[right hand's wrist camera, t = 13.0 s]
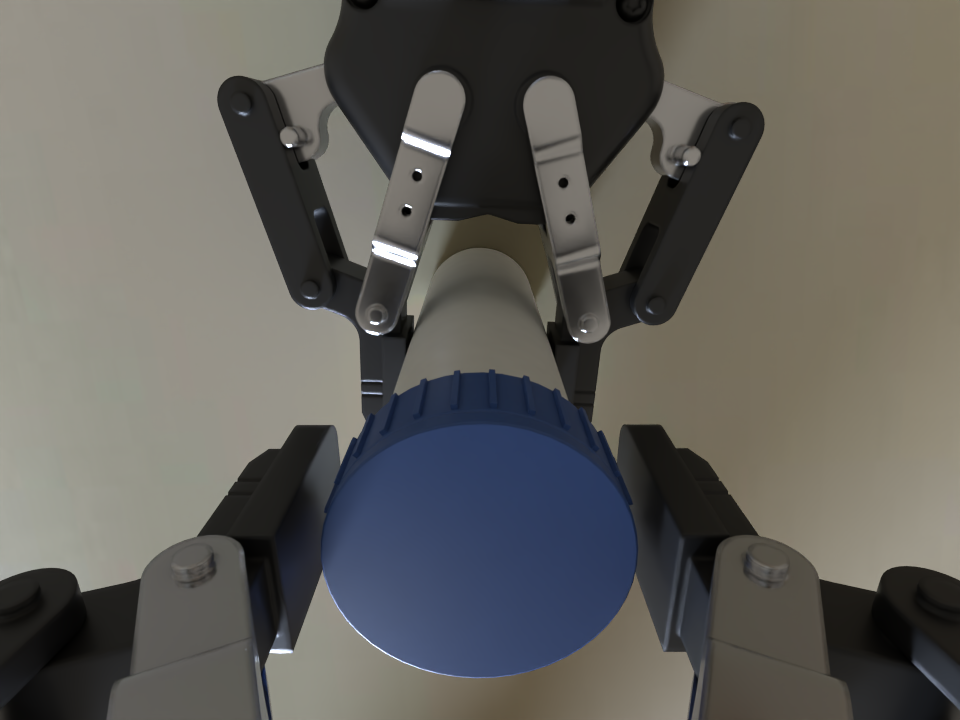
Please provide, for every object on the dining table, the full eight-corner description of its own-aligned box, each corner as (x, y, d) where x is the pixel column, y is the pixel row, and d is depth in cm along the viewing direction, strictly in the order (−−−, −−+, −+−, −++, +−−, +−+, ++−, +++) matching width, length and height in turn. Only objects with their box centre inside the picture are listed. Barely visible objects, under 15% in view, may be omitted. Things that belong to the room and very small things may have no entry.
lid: (349, 597, 12) (326, 678, 10) (332, 362, 10) (300, 412, 8) (601, 602, 12) (622, 685, 10) (632, 369, 10) (664, 420, 8)
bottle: (428, 346, 25) (357, 639, 10) (427, 245, 23) (342, 426, 9) (528, 349, 25) (595, 644, 10) (534, 248, 23) (622, 433, 9)
